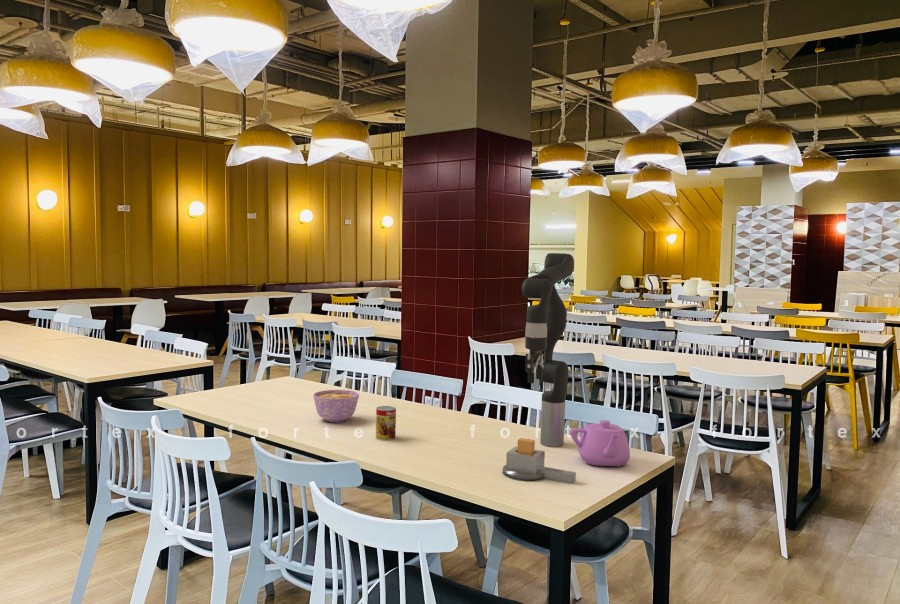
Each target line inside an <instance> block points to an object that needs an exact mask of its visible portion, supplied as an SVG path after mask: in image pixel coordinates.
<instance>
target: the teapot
mask: <svg viewBox="0 0 900 604" xmlns="http://www.w3.org/2000/svg"><path fill="white" fill-rule="evenodd" d="M569 432H570V436H571V437H570V438H571V439H572V440H573V442H574V443H575V445H576V446H577V448H578V449H577V450H578V453H579V456H580V458H581V459H582V460H583V461H584V462H585V463H586V464H588V465H592V466H593V465H595V466H594V467H600V466H603V467H604V466H605V467H620V466H625V465H627V463H629V460H630V458H631V451H630V443H629V441H628V438H627V435H626V433H625V430H624V429H623V428H622V427H621V426H620V425H618V424H612V423H611V421H609V420H605V419H602V420H599V423H587V424H586V425H585V426H584V428H581V427H579V428H578V427H575V428H574V427H573V428H571V429H570V430H569ZM578 433H581V435H580V438H579V437H578ZM599 465H600V466H599ZM619 465H620V466H619Z"/></svg>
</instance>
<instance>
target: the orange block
mask: <svg viewBox="0 0 900 604" xmlns="http://www.w3.org/2000/svg"><path fill="white" fill-rule="evenodd" d="M535 441H536V440H535V439H531V438H523V437H520V438H518V439H517V445H516V447H517V452H518V453H524V454H530V455H534V450H536V448H535V447H536V446H535V444H536V442H535Z"/></svg>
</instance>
